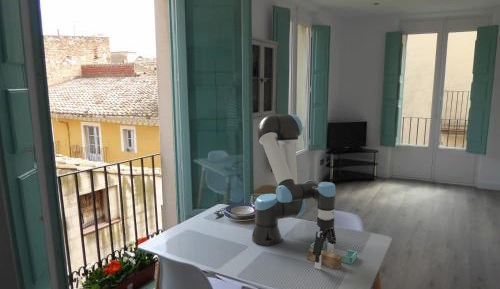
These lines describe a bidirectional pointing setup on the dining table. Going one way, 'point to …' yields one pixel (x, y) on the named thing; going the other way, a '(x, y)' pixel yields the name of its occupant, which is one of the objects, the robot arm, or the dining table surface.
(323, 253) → the batten
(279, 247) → the dining table surface
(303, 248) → the dining table surface
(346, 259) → the pair of teal brackets
